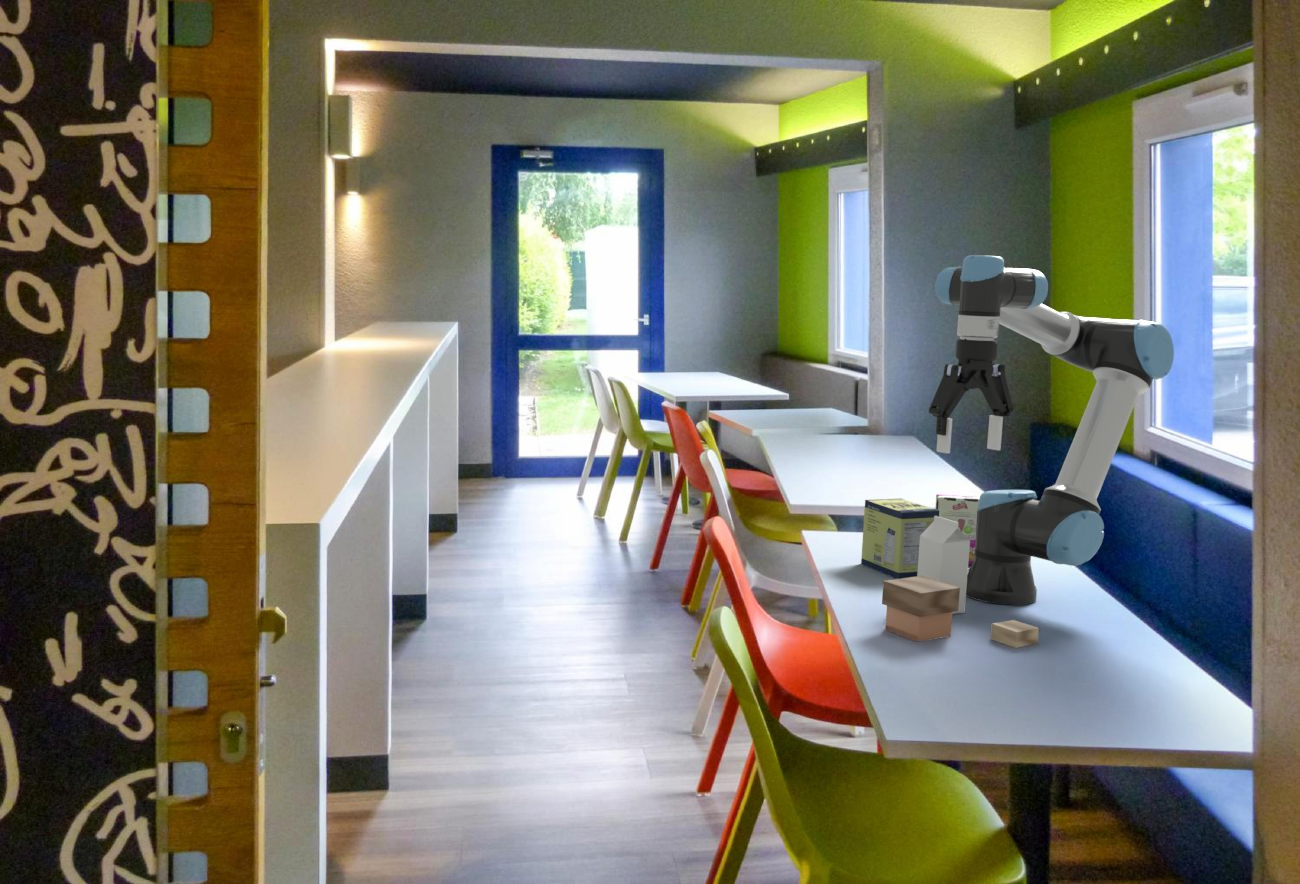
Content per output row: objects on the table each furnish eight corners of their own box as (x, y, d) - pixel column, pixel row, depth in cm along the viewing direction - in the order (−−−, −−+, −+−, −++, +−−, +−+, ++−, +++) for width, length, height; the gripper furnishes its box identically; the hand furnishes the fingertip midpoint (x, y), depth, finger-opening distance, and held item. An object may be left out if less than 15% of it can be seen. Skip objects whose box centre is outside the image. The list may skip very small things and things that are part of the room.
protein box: (896, 561, 293) (900, 497, 291) (936, 577, 279) (941, 509, 277) (859, 564, 289) (863, 499, 287) (898, 579, 275) (902, 511, 273)
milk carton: (937, 616, 245) (944, 523, 243) (914, 607, 252) (921, 516, 249) (964, 613, 249) (972, 521, 246) (941, 604, 255) (948, 514, 252)
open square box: (917, 624, 239) (919, 599, 238) (950, 636, 232) (952, 610, 231) (885, 629, 235) (887, 604, 234) (917, 641, 227) (919, 615, 227)
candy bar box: (978, 563, 295) (983, 496, 292) (980, 568, 290) (986, 499, 288) (931, 559, 296) (935, 493, 294) (932, 564, 292) (937, 496, 289)
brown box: (919, 598, 239) (921, 575, 239) (958, 611, 231) (959, 587, 230) (881, 603, 234) (883, 580, 233) (919, 617, 226) (921, 593, 225)
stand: (1012, 635, 234) (1013, 619, 234) (1037, 643, 229) (1038, 628, 229) (990, 639, 231) (991, 623, 231) (1015, 647, 226) (1016, 632, 226)
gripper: (944, 339, 220) (936, 456, 223) (1038, 340, 233) (1029, 450, 236) (914, 337, 226) (906, 450, 229) (1007, 338, 240) (998, 445, 242)
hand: (968, 451), depth 233 cm, fingers open, 13 cm apart
